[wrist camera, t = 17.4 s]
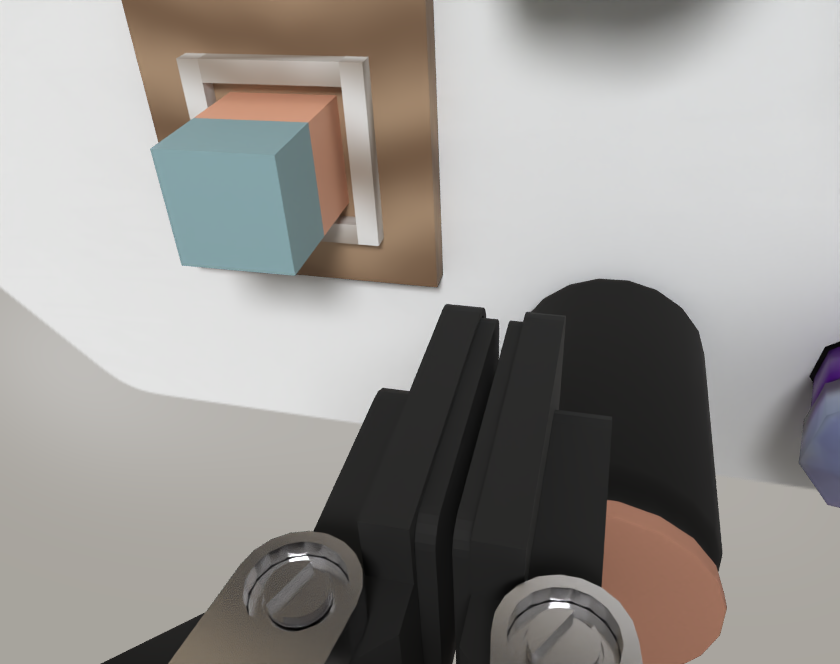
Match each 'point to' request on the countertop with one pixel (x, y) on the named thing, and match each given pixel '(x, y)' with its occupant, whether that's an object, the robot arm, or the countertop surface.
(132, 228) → the countertop surface
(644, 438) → the coffee jar
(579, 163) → the countertop surface
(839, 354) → the potion bottle
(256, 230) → the teal and orange block
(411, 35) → the walnut board
